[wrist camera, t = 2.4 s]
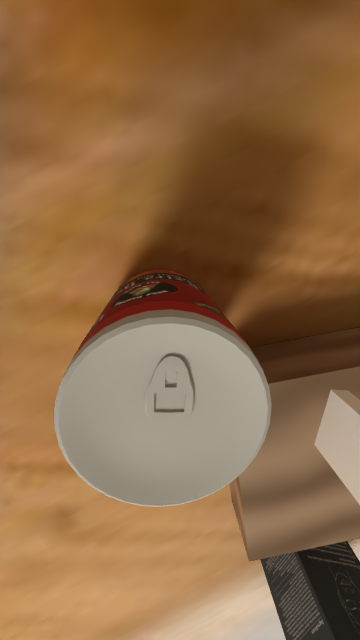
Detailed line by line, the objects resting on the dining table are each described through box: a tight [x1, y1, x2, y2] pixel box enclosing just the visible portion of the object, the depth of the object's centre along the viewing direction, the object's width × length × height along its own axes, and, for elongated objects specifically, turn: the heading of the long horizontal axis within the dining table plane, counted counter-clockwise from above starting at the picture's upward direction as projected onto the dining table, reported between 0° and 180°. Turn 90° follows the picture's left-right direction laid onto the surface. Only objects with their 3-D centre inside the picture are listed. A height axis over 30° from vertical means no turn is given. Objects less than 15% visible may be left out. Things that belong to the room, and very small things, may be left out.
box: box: [260, 541, 360, 640], centre depth 24 cm, size 8×6×11 cm
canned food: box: [54, 269, 272, 507], centre depth 14 cm, size 8×8×11 cm
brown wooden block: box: [230, 327, 360, 561], centre depth 21 cm, size 16×16×5 cm
